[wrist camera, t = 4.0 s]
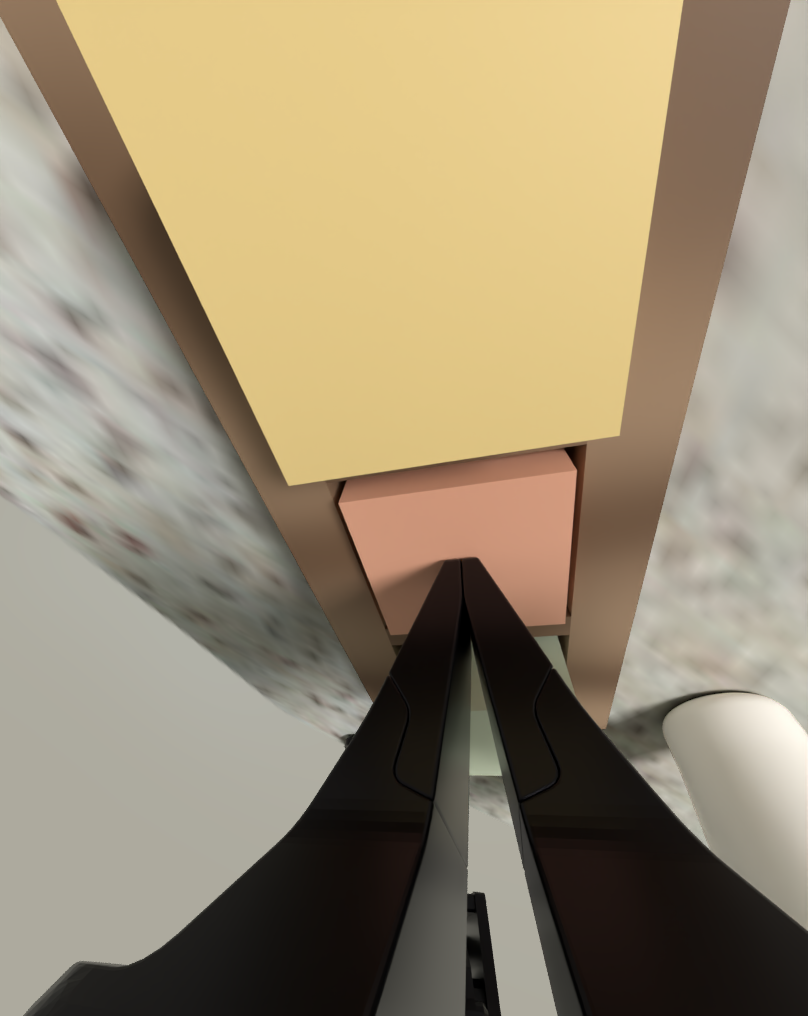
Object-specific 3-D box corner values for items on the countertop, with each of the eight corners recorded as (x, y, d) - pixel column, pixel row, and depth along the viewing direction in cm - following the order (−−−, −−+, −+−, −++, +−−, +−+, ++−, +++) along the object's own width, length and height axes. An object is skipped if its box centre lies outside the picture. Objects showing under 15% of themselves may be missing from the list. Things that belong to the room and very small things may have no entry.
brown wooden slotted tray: (585, 669, 16) (605, 728, 14) (394, 677, 18) (388, 731, 16) (710, -191, 5) (924, -524, 3) (125, 60, 6) (-23, -26, 4)
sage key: (549, 696, 15) (569, 776, 12) (428, 700, 15) (427, 774, 13) (552, 621, 12) (579, 708, 10) (403, 631, 13) (397, 712, 10)
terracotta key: (542, 555, 12) (565, 624, 10) (398, 569, 13) (390, 635, 11) (544, 416, 9) (576, 470, 7) (359, 447, 10) (338, 503, 8)
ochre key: (563, 376, 7) (619, 435, 5) (328, 420, 8) (288, 486, 6) (582, -46, 4) (734, -341, 2) (212, 97, 5) (53, -6, 3)
